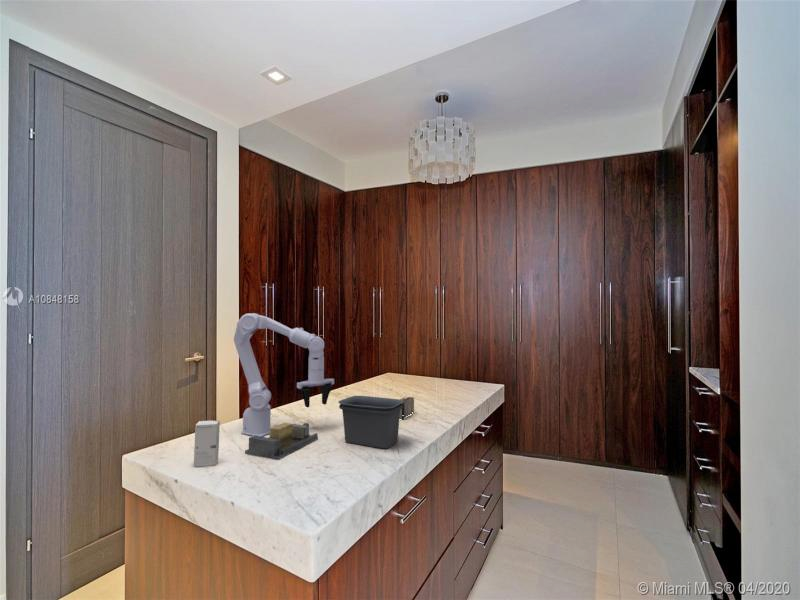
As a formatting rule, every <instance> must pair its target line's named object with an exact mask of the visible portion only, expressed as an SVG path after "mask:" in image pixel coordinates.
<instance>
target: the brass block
mask: <svg viewBox="0 0 800 600" xmlns="http://www.w3.org/2000/svg"><path fill="white" fill-rule="evenodd" d="M292 424H293V423H290V422H289V423H288V422H282V423H280V424H276V425H274V426H271V427H270V433H269V437H270V438H272V439H278V440H280V447H282V446H284V445H286V444H288V443H290V442H292Z"/></svg>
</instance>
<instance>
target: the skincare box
mask: <svg viewBox="0 0 800 600" xmlns="http://www.w3.org/2000/svg"><path fill="white" fill-rule="evenodd" d="M220 424H221V421H220V420H219V419H218V420H199V421H198V422H197V423H196V424H195V427H194V431H195V432H194V449H193V452H194V455H193V467H209V466H211V467H212V466H216V464H217V463H218V461H219V450H220V449H219V448H220V429H221V428H220V426H221V425H220Z"/></svg>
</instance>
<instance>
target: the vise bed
mask: <svg viewBox="0 0 800 600" xmlns="http://www.w3.org/2000/svg"><path fill="white" fill-rule="evenodd" d="M318 439H319V436H318V433H317V432H315V433H313V434H311V435H310V434H309V437H307V438H305V439H303V440H301V439H295V438H292V442H290V443H288V444H286V445H284V446H282V447H280V440H278V439H272V438H270V436H269V437H266V436H262V437H260V436H253V435H251V436H250V437H248V449H245V450H244V454H245V455H250V456H255V457H260V458H265V459H271V460H276V461H279V460H281V459H283V458H285V457H287V456H288V455H291V454H293V453H294V452H296V451H298V450H300V449H302V448H304V447H306V446H308V445H310V444H312V443H313V442H316V441H317V440H318Z"/></svg>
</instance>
